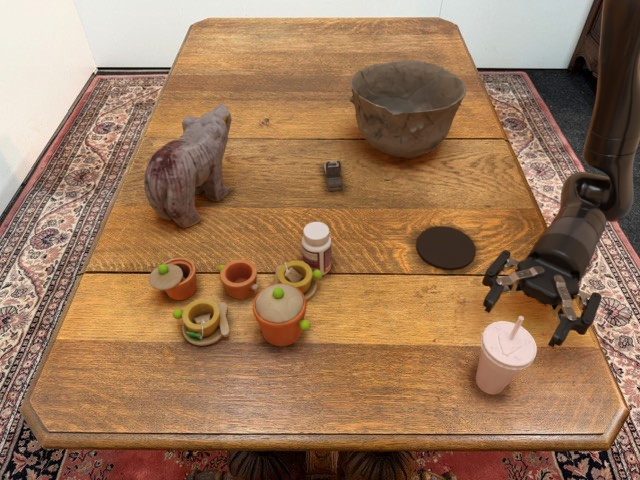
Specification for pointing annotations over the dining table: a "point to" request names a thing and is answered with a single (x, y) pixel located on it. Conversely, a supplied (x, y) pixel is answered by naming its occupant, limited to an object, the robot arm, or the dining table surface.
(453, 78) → the bowl
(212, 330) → the toy tea set
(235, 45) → the dining table surface
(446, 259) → the coaster
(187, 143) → the sculpture
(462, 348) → the dining table surface
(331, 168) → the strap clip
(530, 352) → the smoothie
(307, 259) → the pill bottle
